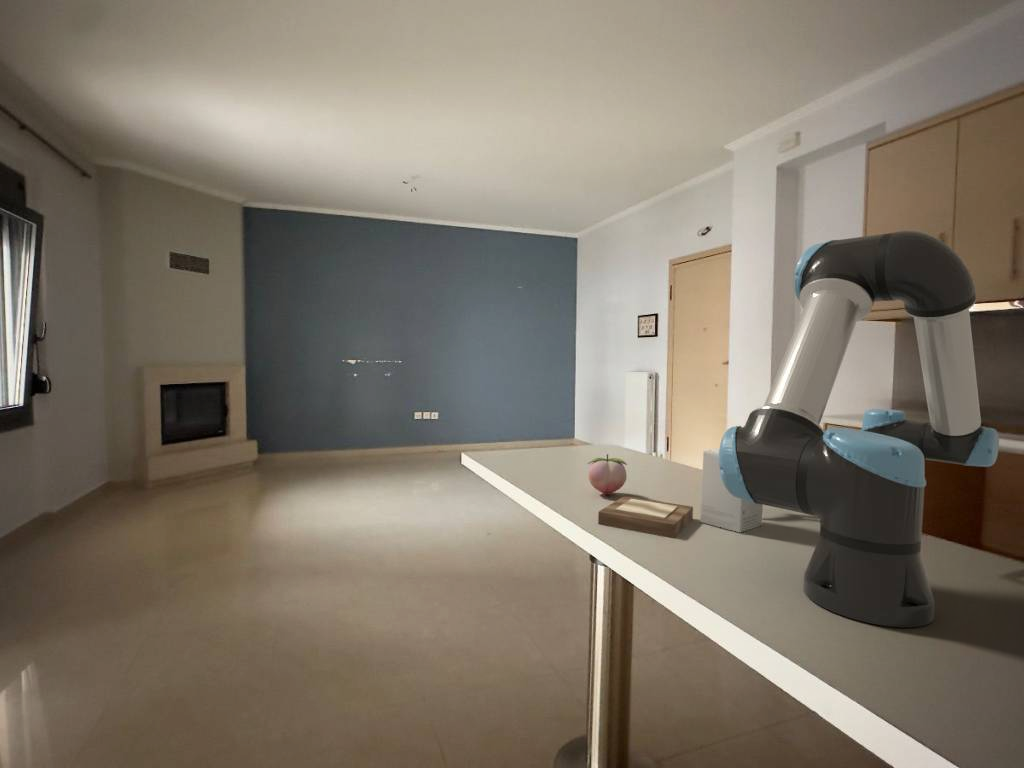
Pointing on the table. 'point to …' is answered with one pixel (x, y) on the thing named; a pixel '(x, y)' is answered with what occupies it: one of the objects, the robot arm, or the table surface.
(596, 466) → the decorative fruit
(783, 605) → the table surface
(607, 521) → the block
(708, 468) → the supplement box
